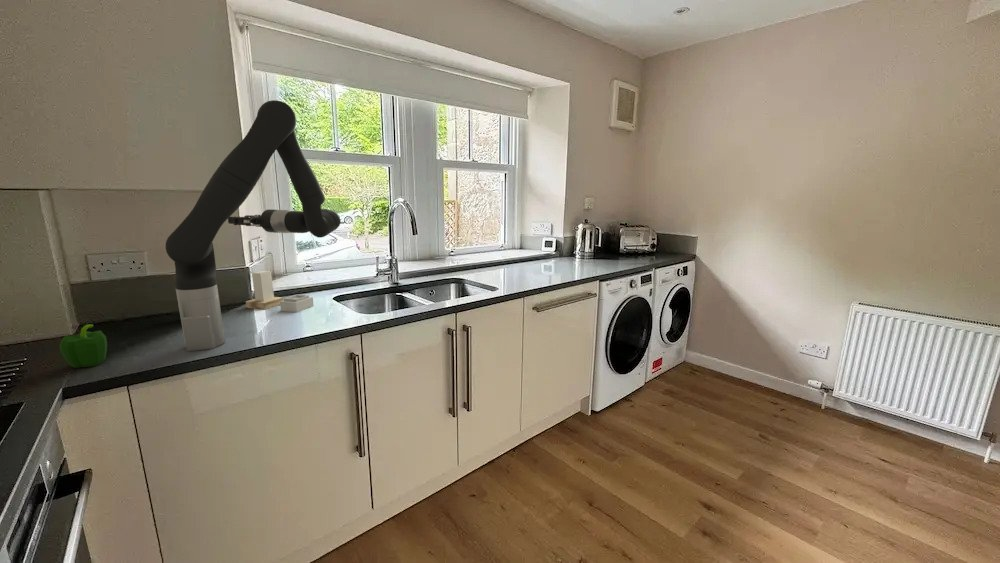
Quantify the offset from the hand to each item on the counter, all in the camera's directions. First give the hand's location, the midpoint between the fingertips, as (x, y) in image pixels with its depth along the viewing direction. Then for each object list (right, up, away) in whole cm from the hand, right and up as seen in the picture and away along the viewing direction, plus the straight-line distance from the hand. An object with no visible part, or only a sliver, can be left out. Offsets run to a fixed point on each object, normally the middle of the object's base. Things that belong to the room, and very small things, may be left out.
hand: (240, 219), depth 132 cm
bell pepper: (-16, -42, -33) cm, 56 cm away
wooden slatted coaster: (-5, -30, +22) cm, 38 cm away
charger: (-5, -28, +22) cm, 36 cm away
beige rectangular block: (+10, -31, +19) cm, 38 cm away
